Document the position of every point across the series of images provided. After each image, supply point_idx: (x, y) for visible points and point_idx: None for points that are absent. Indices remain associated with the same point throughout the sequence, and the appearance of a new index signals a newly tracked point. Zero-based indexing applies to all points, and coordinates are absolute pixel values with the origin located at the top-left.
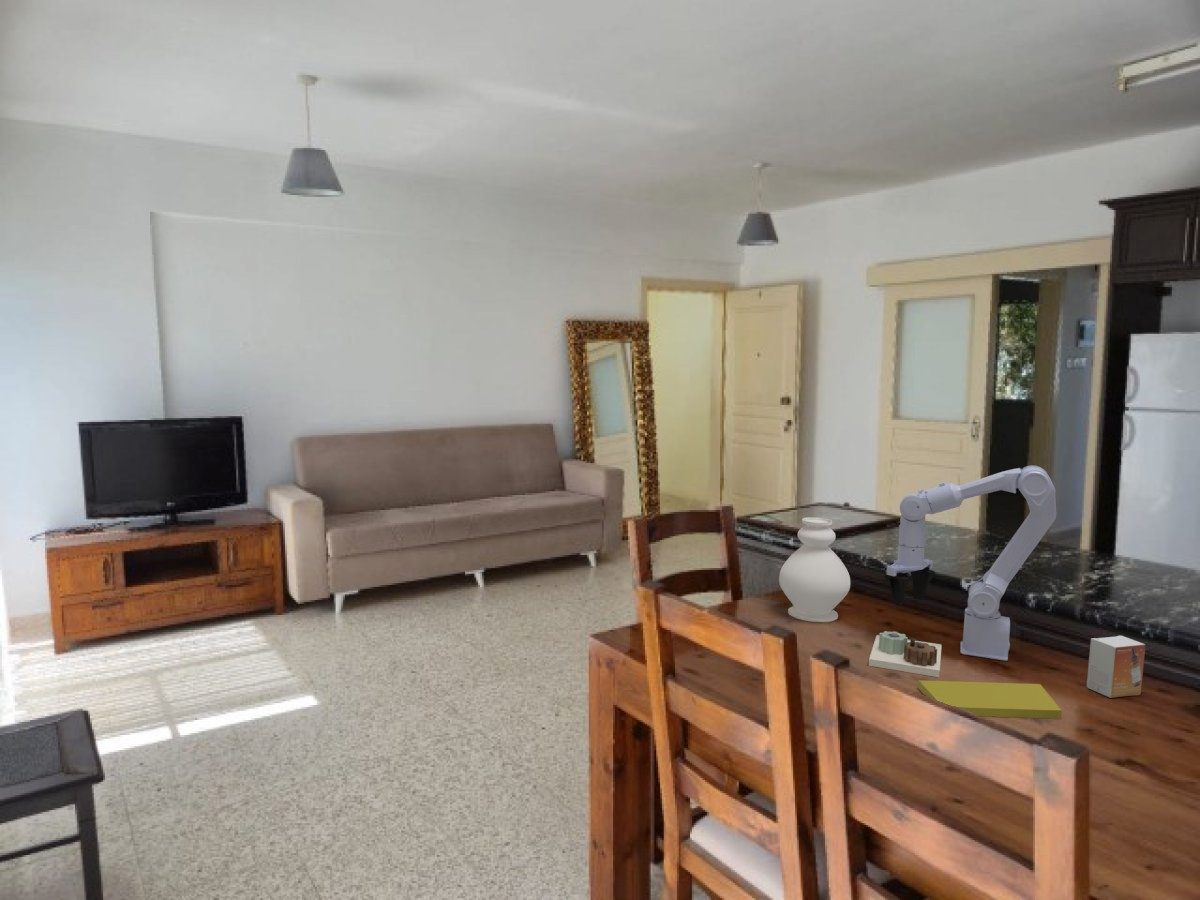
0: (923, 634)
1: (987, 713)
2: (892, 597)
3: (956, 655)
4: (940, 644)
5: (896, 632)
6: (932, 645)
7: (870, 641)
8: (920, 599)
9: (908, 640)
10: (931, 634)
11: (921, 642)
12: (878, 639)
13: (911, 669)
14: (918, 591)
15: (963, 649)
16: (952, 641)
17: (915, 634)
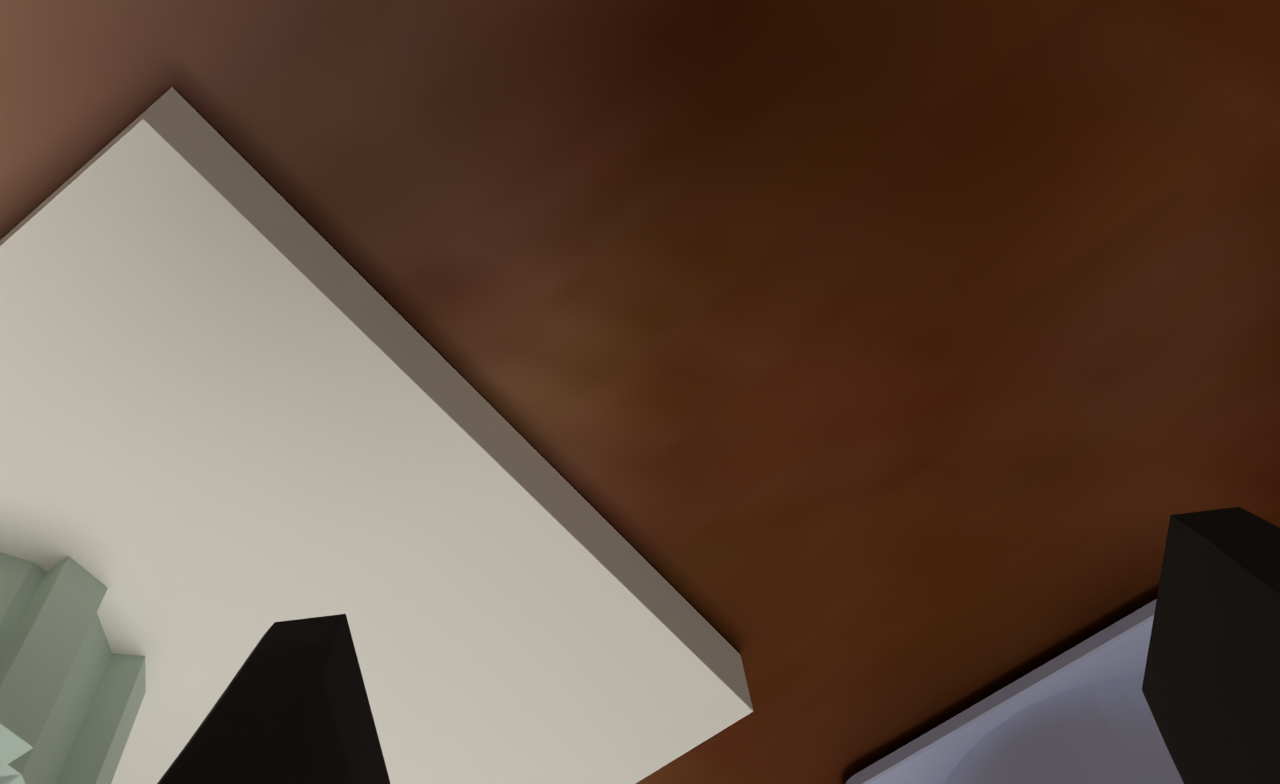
0: (1126, 161)
1: None
2: (201, 729)
3: (775, 774)
4: (743, 706)
5: (4, 758)
6: (620, 698)
7: (60, 53)
8: (1155, 684)
9: (466, 486)
10: (1224, 209)
11: (576, 593)
12: (24, 294)
13: None
14: (1277, 781)
15: (940, 764)
16: (1176, 494)
17: (1022, 111)
